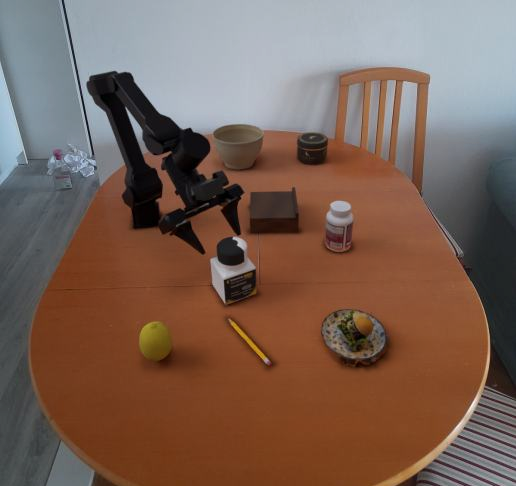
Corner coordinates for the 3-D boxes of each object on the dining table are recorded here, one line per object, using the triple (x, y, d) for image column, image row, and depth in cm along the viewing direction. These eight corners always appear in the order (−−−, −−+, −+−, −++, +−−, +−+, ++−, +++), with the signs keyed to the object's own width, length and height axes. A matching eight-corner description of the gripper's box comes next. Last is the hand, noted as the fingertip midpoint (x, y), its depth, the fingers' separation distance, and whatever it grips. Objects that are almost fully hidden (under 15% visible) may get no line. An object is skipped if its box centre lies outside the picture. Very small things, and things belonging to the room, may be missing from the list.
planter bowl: (264, 174, 138) (263, 142, 133) (212, 175, 139) (209, 143, 133) (264, 152, 152) (263, 123, 147) (217, 153, 153) (215, 123, 148)
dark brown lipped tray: (250, 233, 111) (249, 214, 108) (250, 205, 123) (250, 187, 120) (298, 232, 111) (298, 213, 108) (294, 205, 122) (294, 187, 120)
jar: (292, 162, 145) (293, 141, 142) (301, 150, 153) (302, 130, 150) (322, 167, 142) (323, 145, 138) (330, 154, 150) (331, 133, 146)
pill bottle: (342, 235, 110) (346, 196, 104) (355, 249, 105) (360, 209, 99) (320, 240, 108) (322, 201, 103) (332, 255, 103) (335, 215, 98)
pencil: (268, 367, 77) (268, 364, 76) (226, 320, 86) (226, 317, 86) (271, 364, 77) (272, 362, 77) (229, 318, 87) (229, 316, 86)
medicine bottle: (225, 306, 89) (222, 258, 84) (212, 284, 95) (207, 238, 89) (257, 294, 92) (255, 247, 86) (242, 274, 98) (240, 229, 92)
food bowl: (334, 307, 89) (337, 278, 85) (394, 329, 83) (399, 299, 80) (309, 349, 80) (311, 319, 76) (374, 378, 74) (379, 346, 71)
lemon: (167, 372, 76) (161, 339, 72) (137, 367, 77) (130, 334, 73) (179, 347, 81) (174, 314, 77) (150, 342, 82) (144, 310, 78)
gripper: (157, 178, 81) (199, 254, 79) (236, 148, 92) (274, 214, 90) (142, 199, 90) (179, 268, 88) (216, 170, 100) (250, 230, 99)
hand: (222, 244), depth 91 cm, fingers open, 9 cm apart
